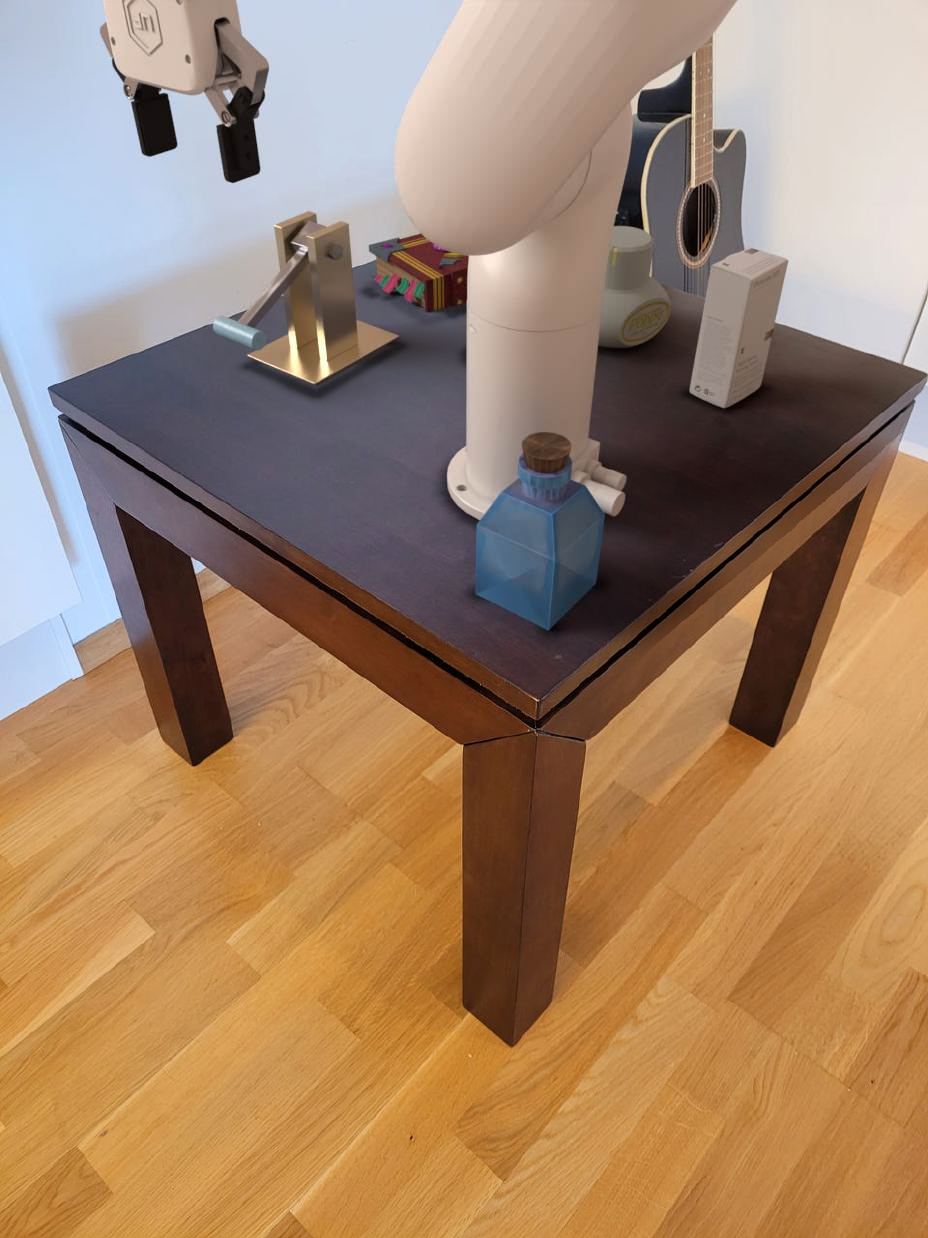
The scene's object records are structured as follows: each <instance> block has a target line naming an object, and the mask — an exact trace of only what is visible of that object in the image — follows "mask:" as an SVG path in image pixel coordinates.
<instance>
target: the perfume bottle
mask: <svg viewBox="0 0 928 1238" xmlns="http://www.w3.org/2000/svg"><path fill="white" fill-rule="evenodd" d="M521 446H522V451H523V453H522V454H521V456H520V457H519V461H518V476H519V478H518V479H517V480H516V481H514V482H513V483H512V484H510V485H509V486H508V487H507V488H505V489H504V490H503V491H502V492H501V493H500V494H499V495H498V497H497V498H496V499H495V501H494V502H493V503H492V505H491V506H490V507H489V509H488V510H487V511H486V513H485V514H484V515H483V517H482V518H481V520H478V522H477V524H476V539H475V540H476V546H475V547H476V548H475V549H476V550H475V551H476V552H475V555H476V556H475V595H476V596H478V597H481V598H483V599H484V600H487V601H489V602H490V603H492V604H495V605H496V606H498V607H501V608H502V609H505V610H507V611H508V612H510V613H513V614H514V615H517V616H518V617H520V618H523V619H524V620H526V621H529V622H530V623H532V624H535V625H537V626H539V627H540V628H542V629H544V630H546V631H548V632H549V631H550V630H551V629H552V628H554V626H555V625H556V624H557V623H558V622H559V621H560V620H561V619H562V618H563V617H564V616H565V615H566V614H567V613H568V612H569V611H570V610H571V609H572V608H573V607H574V606H575V605H576V604H577V603H578V602H579V601H580V600H581V599H582V598H583V597H584V596H585V595H586V594H587V593H588V592H589V591H590V590H591V589H592V588H593V587H594V586H595V585H596V584H597V577H598V571H599V564H600V563H599V561H600V556H601V555H600V554H601V546H602V540H603V531H604V523H605V517H606V516H605V515H606V513H604V512H603V511H602V509H601V508H600V506H599V505H598V503H597V502H596V500H595V499H594V497H593V496H592V494H591V493H590V491H589V490H588V488H587V487H586V485H583V484H581V483H578V482H576V481H573V480H571V472H572V460H571V457H570V456H569V454H570V451H571V447H572V445H571V443H570V441H569V440H568V439H567V438H566V437H564V436H562V435H560V434H557V433H553V432H537V433H534V434H531V435H529V436H527V437H525V438H524V440H523V441H522V445H521Z"/></svg>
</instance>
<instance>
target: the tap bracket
mask: <svg viewBox="0 0 928 1238" xmlns="http://www.w3.org/2000/svg"><path fill="white" fill-rule="evenodd" d="M308 221H311V222H314V223H317V224H318V217H317V212H313V211H310V210H307V211H305V212H303V213H300V214H298V215H296V216H295V215H294V216H293V217H291V218H288V219H286V220H284V221H283V220H282V221H281V222H279V223H276V224H274V225H273V228H274V235H275V236H274V237H275V243H276V250H277V257H278V265H279V272H280V271H281V270H282V268H283V267H284V266H285V265H286V264H287V262H288V261H289V260H290V259H291V258H292V257H293V255H294V254H295V253H296V251H295V249H294V247H293V246H292V244H291V241H292V240H293V239H294V238H295V236H296V235H297V234H298V233H299V232H300V231H301V229H302V228H303V227H304V226H305V225H306V223H307V222H308ZM306 237H307V246H308V255H309V264H310V265H307V266H306V267H305V268H304V269H303V271H302V272H301V273H300V274H299V275H298V277H297V278H296V279H295V280H294V281H293V283H292V284H291V285H290V286H289V287H288V289H287V290H286V291H285V292H284V293H283V295H282V296H283V302H284V309H285V318H286V325H287V331H288V333H287V334H284V335H283V336H282V337H280V338H278V339H277V338H276V340H273V341H272V342H269V343H267V344H265V346H264V347H263V348H262V349H261V350H258V351H257V350H254V351H252V352H250V353H248V354H247V355H246V357H247V358H248V359H251V360H254V361H255V362H258V363H259V364H262V365H265V366H267V367H270V368H272V369H274V370H277V371H279V372H281V373H284V374H286V375H289V376H291V377H293V378H296V379H298V380H301V381H303V382H305V383H307V384H310V385H312V386H314V387H315V386H317V385H319V384H320V383H322V382H324V381H326V380H328V379H329V378H331V377H333V376H335V375H336V374H338V373H340V372H342V371H343V370H345V369H347V368H348V367H351V366H352V365H354V364H356V363H357V362H359V361H361V360H362V359H365V358H366V357H368V356H370V355H371V354H373V353H375V352H377V351H378V350H381V349H383V348H384V347H385V346H387V345H389V344H391V343H392V342H394V341H396V340H398V339H400V335H399V334H395V333H393V332H391V331H389V330H388V331H387V330H385V329H383V328H379V327H377V326H374V325H372V324H369V323H366V322H364V321H361V320H358V319H357V309H356V298H355V297H356V296H355V286H354V275H353V273H354V272H353V264H352V263H353V260H352V249H351V248H352V247H351V236H350V224H349V223H348V222H346V221H342V220H339V221H337V222H335V223H333V224H330V225H328V226H326V228H324V229H321V230H319V231H317V232H314V233H312V234H310V235H307V236H306Z"/></svg>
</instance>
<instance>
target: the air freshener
mask: <svg viewBox="0 0 928 1238" xmlns="http://www.w3.org/2000/svg"><path fill="white" fill-rule="evenodd" d="M654 243H655V240H654V238H653V236H652V235H651V234H650V233H649V232H648V231H646V230H643V229H642V228H639V227H633V226H627V225H614V227H613V232H612V238H611V243H610V250H609V257H608V264H607V272H606V281H605V290H604V299H603V307H602V313H601V322H600V332H599V341H598V347H603V348H607V349H629V348H633V347H635V346H638V345H640V344H644V343H646V342H647V341H649V340H650V339H652V338H653V337H655V336H656V335H657V334H658V333H660V331H661V330H662V329H663V328H664V326H665V325H666V324H667V322H668V321H669V318H670V315H671V311H672V310H671V309H672V305H671V300H670V297H669V295H668V292H667V290H665V288H664V287H663V286H662V285H661V283H660V282H658V280H656V279H655V278H653V277H652V276H650V275H651V267H652V261H653V253H654V245H655V244H654Z"/></svg>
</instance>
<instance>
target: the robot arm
mask: <svg viewBox="0 0 928 1238" xmlns="http://www.w3.org/2000/svg"><path fill="white" fill-rule="evenodd" d="M737 2H738V0H463V1H462V3H461V5H460V7H459V8H458V10H457V12H456V13H455V15H454V17H453V19H452V20H451V22H450V25H449V26H448V28H447V29H446V32H445V33H444V35H443V37H442V38H441V41H440V43H439V44H438V46H437V48H436V50H435V51H434V53H433V55H432V56H431V58H430V60H429V62H428V64H427V66H426V68H425V70H424V71H423V73H422V75H421V76H420V78H419V81H417V84H416V86H415V88H414V90H413V92H412V94H411V95H410V98H409V99H408V102H407V104H406V106H405V109H404V111H403V114H402V116H401V119H400V122H399V125H398V129H397V133H396V138H395V143H394V157H393V167H394V169H393V170H394V178H395V185H396V189H397V193H398V196H399V197H398V198H399V199H400V202H401V205H402V207H403V210H404V212H405V214H406V215H407V217H408V219H409V221H410V222H411V223H412V225H413V226H414V227H415V229H416V230H417V231H418V232H419V234H420V233H421V234H422V235H423V236H424V237H425V238H426V239H428V240H429V241H431V242H432V243H433V244H435V245H437V246H438V247H440V248H442V249H444V250H447V251H449V252H453V253H456V254H461V255H469V261H468V277H467V302H466V403H465V404H466V409H465V410H466V411H465V412H466V413H465V417H466V419H465V420H466V421H465V423H466V425H465V429H466V430H465V433H466V435H465V437H466V439H465V444H466V445H465V446H464V447H462V448H461V449H460V450H459V451H457V452H456V453H455V455H454V456H453V457H452V458H451V460H450V462H449V464H448V467H447V473H446V482H447V491H448V494H449V495H450V498H451V499H452V500H453V502H454V503H455V504H456V506H458V507H459V508H460V510H463V511H464V512H465V513H466V514H468V515H469V516H472V518H475V519H477V520H478V521H480V520H481V518H482V517H483V515H484V514H485V513H486V511H487V510H488V509H489V507H490V506H491V505H492V503H493V502H494V501H495V499H496V498H497V497H498V495H499V494H500V493H501V492H502V491H503V490H504V489H505V488H507V487H508V486H509V485H510V484H512V483H513V482H514V481H516V480H517V479H518V478H519V476H518V461H519V457H520V456H521V454H522V453H523V451H522V446H521V445H522V441H523V440H524V438H525V437H527V436H529V435H531V434H534V433H537V432H553V433H557V434H560V435H562V436H564V437H566V438H567V439H568V440H569V441H570V443H571V445H572V447H571V451H570V454H569V456H570V457H571V460H572V472H571V480H573V481H576V482H578V483H581V484H583V485H586V487H587V488H588V490H589V491H590V493H591V494H592V496H593V497H594V499H595V500H596V502H597V503H598V505H599V506H600V508H601V509H602V511H603V512H604V514H606V515H609V516H611V517H616V516H617V515H619V513H620V512H621V511H622V508H623V507H624V504H625V502H626V501H625V500H626V494H625V492H624V491H622V490H623V489H624V487H625V485H626V483H627V475H626V474H624V473H621V472H619V471H617V470H613V469H608V468H607V467H603V465H602V462H601V461H599V458H600V457H599V456H600V448H601V442H600V441H597V440H594V439H592V438H589V437H590V436H589V435H590V424H591V416H592V405H593V399H594V397H593V396H594V387H595V378H596V368H597V359H598V349H599V346H598V341H599V332H600V322H601V313H602V307H603V299H604V290H605V281H606V272H607V264H608V257H609V250H610V243H611V238H612V232H613V227H614V226H615V222H616V216H617V213H618V208H619V204H620V200H621V195H622V192H623V187H624V183H625V178H626V174H627V170H628V165H629V159H630V155H631V147H632V141H633V126H634V125H633V121H634V119H633V106H632V100H633V99H634V98H635V97H636V96H637V95H638V94H639V92H641V90H642V89H643V88H645V86H646V85H648V84H649V83H651V82H652V81H654V80H656V79H657V78H659V77H660V76H662V75H664V74H665V73H667V72H668V71H670V70H672V69H674V68H675V67H677V66H678V65H680V64H682V63H683V62H685V61H686V60H687V59H689V58H690V57H691V56H692V55H693V54H695V53H696V52H697V51H698V50H699V49H700V48H702V47H703V46H704V45H705V44H706V43H707V42H708V41H709V40H710V38H711V37H712V36H713V35H714V34H715V33H716V31H717V30H718V28H719V27H720V26H721V24H722V23H723V22H724V20H725V18H726V17H727V16H728V14H729V13H730V12H731V10H732V9H733V7H734V6H735V4H736V3H737ZM102 5H103V11H104V15H105V22H104V23H103V24H102V25H101V26H100V27H99V34H100V37H101V39H102V41H103V43H104V45H105V48H106V50H107V51H108V53H109V56H110V57H111V64H112V65H111V66H112V67H113V70H114V71H115V73H116V74H117V75H118V77H119V78H120V80H121V81H122V83H123V85H122V90H123V94H124V95H125V97H126V98H127V100H129V101H130V105H131V109H132V113H133V118H134V123H135V128H136V133H137V136H138V141H139V147H140V152H141V154H142V155H143V156H145V157H148V158H151V157H155V156H157V155H160V154H164V153H167V152H170V151H173V150H175V149H176V148H178V138H177V133H176V128H175V123H174V118H173V117H174V116H173V112H172V107H171V101H170V98H169V93H166V92H161V91H162V90H166V91H171V92H174V93H178V94H181V95H187V96H198V95H201V94H203V93H204V94H205V96H206V98H207V99H208V102H209V103H210V105H211V106H212V108H213V109H214V111H215V113H216V114H217V115H216V116H218V118H219V119H220V121H221V123H220V124H216V126H215V127H216V135H217V136H216V137H217V141H218V142H217V143H218V149H219V155H220V159H221V160H220V161H221V165H222V173H223V177H224V180H225V181H226V182H227V183H231V184H235V183H238V182H241V181H244V180H246V179H249V178H252V177H254V176H257V175H259V174H260V173H261V161H260V154H259V147H258V139H257V132H256V125H255V120H256V119H258V118H259V116H260V108H261V106H262V105H263V102H264V101H265V100H266V99H265V98H266V91H265V89H266V86H267V85H266V84H267V80H268V75H269V71H270V64H269V61H268V60H267V58H266V57H265V56H264V55H262V54H261V52H260V51H259V50H258V49H257V48H256V47H255V46H253V45H252V43H250V41H248V40H247V39H246V38H245V37H244V36H243V32H242V26H241V19H240V13H239V8H238V2H237V0H102ZM228 90H229V92H230V93H231V95H232V97H231V100H230V101H229V100H228V99H227V97H226V94H225V93H224V92H225V91H228Z"/></svg>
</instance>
